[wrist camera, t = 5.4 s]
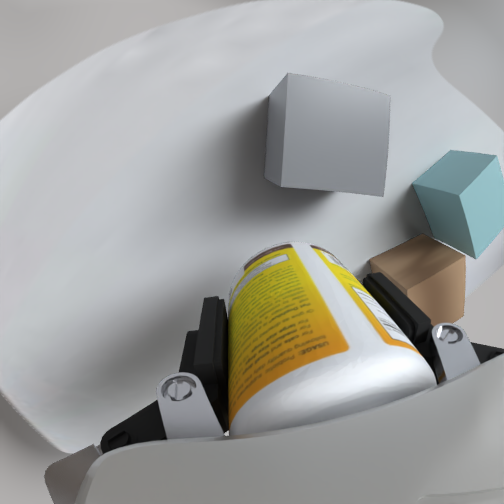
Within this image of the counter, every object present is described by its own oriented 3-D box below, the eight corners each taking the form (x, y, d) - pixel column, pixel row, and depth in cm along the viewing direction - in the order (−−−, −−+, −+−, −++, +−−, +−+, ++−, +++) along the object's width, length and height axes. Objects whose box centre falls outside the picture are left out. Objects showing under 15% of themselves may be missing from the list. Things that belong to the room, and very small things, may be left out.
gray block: (347, 107, 15) (390, 95, 11) (342, 184, 17) (383, 196, 12) (269, 95, 15) (287, 72, 10) (263, 177, 16) (280, 186, 12)
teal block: (449, 150, 17) (496, 155, 12) (468, 202, 18) (511, 217, 14) (411, 183, 17) (459, 195, 13) (433, 237, 19) (476, 259, 14)
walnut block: (421, 233, 19) (465, 255, 14) (427, 287, 20) (463, 315, 16) (368, 258, 19) (407, 289, 14) (378, 313, 21) (410, 349, 16)
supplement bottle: (222, 337, 14) (219, 548, 4) (237, 228, 12) (257, 485, 2) (327, 345, 14) (400, 518, 5) (359, 246, 12) (524, 407, 3)
